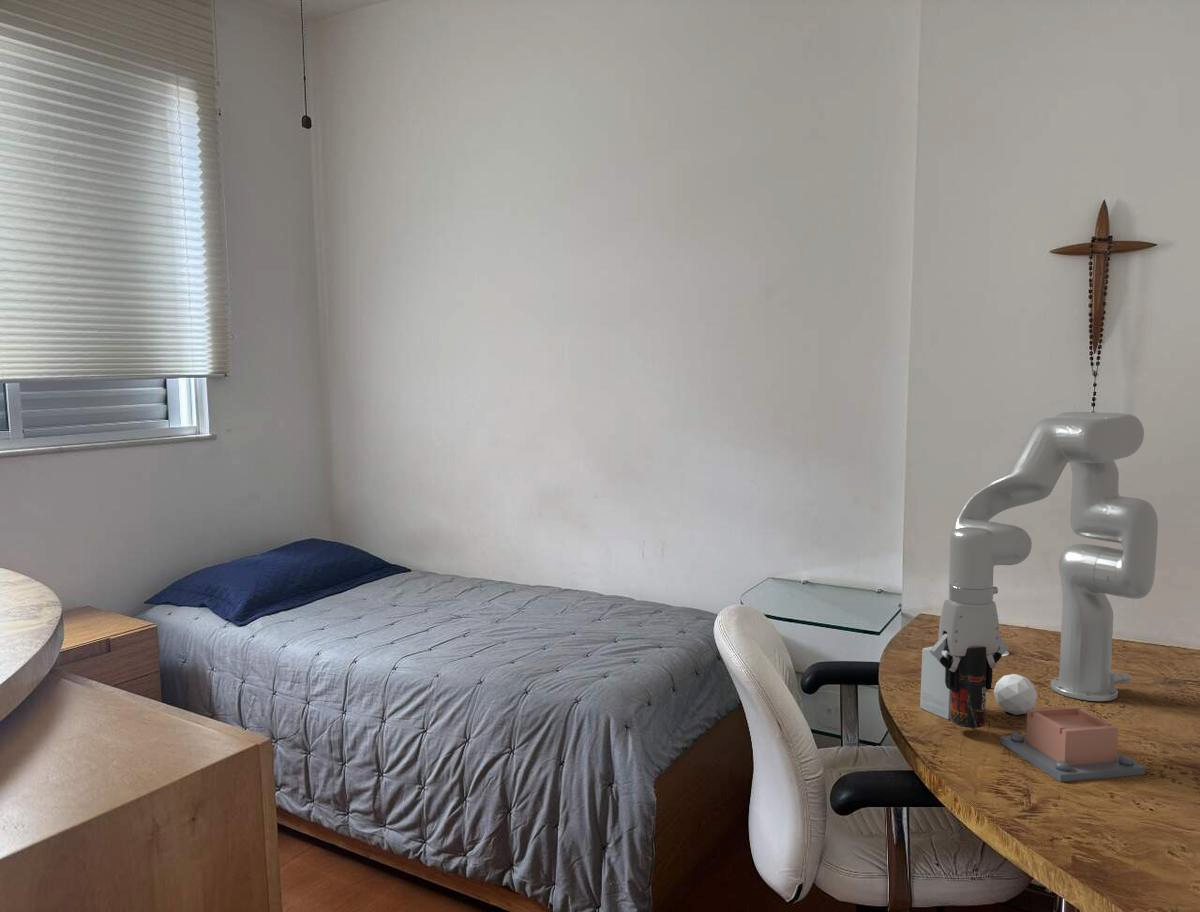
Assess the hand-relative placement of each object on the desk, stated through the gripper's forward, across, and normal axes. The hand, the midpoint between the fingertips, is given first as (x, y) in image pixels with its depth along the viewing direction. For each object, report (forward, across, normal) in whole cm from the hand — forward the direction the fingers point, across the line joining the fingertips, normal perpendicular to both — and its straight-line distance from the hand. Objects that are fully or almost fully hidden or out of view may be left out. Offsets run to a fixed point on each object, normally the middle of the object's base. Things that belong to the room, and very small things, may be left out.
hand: (968, 687), depth 166 cm
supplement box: (+9, -2, -11) cm, 14 cm away
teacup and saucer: (+11, -33, -47) cm, 58 cm away
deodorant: (+7, 0, 0) cm, 7 cm away
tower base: (+9, -11, +13) cm, 20 cm away
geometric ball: (+9, -15, -8) cm, 19 cm away
